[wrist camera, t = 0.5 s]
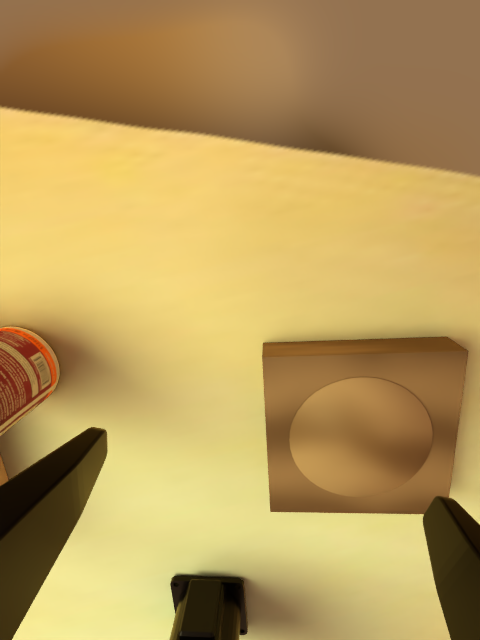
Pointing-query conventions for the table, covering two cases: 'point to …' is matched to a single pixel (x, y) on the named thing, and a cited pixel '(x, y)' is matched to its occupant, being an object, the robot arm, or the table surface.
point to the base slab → (361, 423)
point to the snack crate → (2, 473)
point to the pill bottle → (24, 374)
